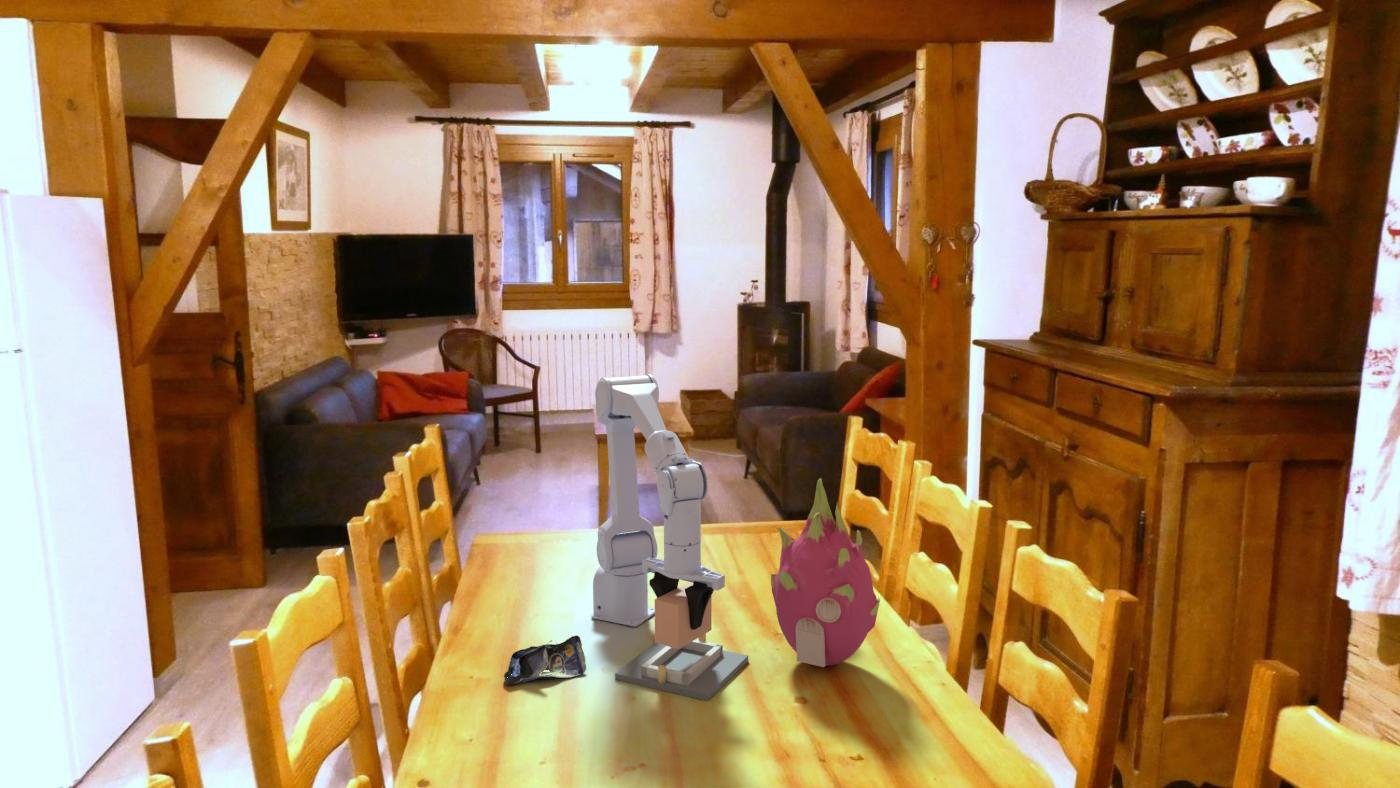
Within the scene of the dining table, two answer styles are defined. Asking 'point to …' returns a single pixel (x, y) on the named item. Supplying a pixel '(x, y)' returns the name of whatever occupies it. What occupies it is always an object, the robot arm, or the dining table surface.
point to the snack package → (546, 661)
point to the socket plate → (684, 668)
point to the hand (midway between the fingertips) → (682, 623)
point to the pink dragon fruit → (824, 589)
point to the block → (677, 619)
